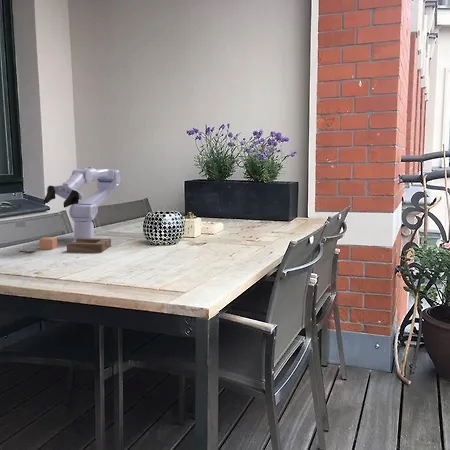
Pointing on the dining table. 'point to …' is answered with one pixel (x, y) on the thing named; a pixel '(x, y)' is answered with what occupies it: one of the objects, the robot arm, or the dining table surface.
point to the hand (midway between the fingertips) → (54, 203)
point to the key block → (48, 243)
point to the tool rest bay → (89, 245)
